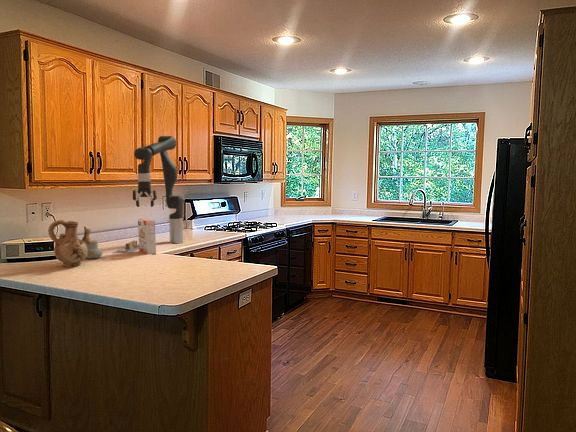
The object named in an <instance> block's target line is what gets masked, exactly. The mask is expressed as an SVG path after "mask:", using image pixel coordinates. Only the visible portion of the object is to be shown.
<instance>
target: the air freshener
mask: <svg viewBox="0 0 576 432" xmlns="http://www.w3.org/2000/svg"><path fill="white" fill-rule="evenodd" d="M93 241H94V243H92V244H89V245H87V252H88V254H87V257H86V258H85V259H87V260H96V259H99V258H101V256H102V255H103V253H104V252H103V250H102V249H101V248H99V246H98V245H99V244H98V243H99V242H98V241H97V240H93Z"/></svg>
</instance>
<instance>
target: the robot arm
mask: <svg viewBox="0 0 576 432" xmlns="http://www.w3.org/2000/svg"><path fill="white" fill-rule="evenodd" d="M176 147H177V139H176V138H175V137H174V136H171V135H160V136H158V138H157V142H154V143H150V144H148V145H146V146H141V147H137V148H136V149H135V150H134V152H133V155H134V158H135V160H136V159H137V160H141V161H143V162H142V163H139V164H138V165H137V190H135V189H133V190H132V200H133V201H135V202H136V203H135V204H136V205H135V206H136V207H137V208H140V199H141V198H148V199H149V201H150V207H151V208H153V207H154V206H155V201H156V200H157V199H158V198H157V190H156V189H153V190H152V185H151V184H152V182H151V169H150V168H151V163H152V158H153V156H156V155H157V154H160V160H161V166H162V167H161V168H162V172H163V174H162V175H163V180H164V188H165V202H166V206H167V208H168V209H169V210H170V209H172V210H173V209H175V211H174V212H172V213H170V214H169V215H168V216H169V217H168V219H169V221H168V223H169V243H172V244H181V243H184V226H183V225H184V222H183V217H184V216H183V215H184V198H183V197H182V195H173V189H174V186H175V184H176V182H177V180H178V171H177V170H178V169H177V166H176V164H174V162H173V161H172V159H171V158H170V156H169V154H168V151H171V150H174V149H176ZM137 194H138V195H137ZM151 194H152V195H151Z"/></svg>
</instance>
